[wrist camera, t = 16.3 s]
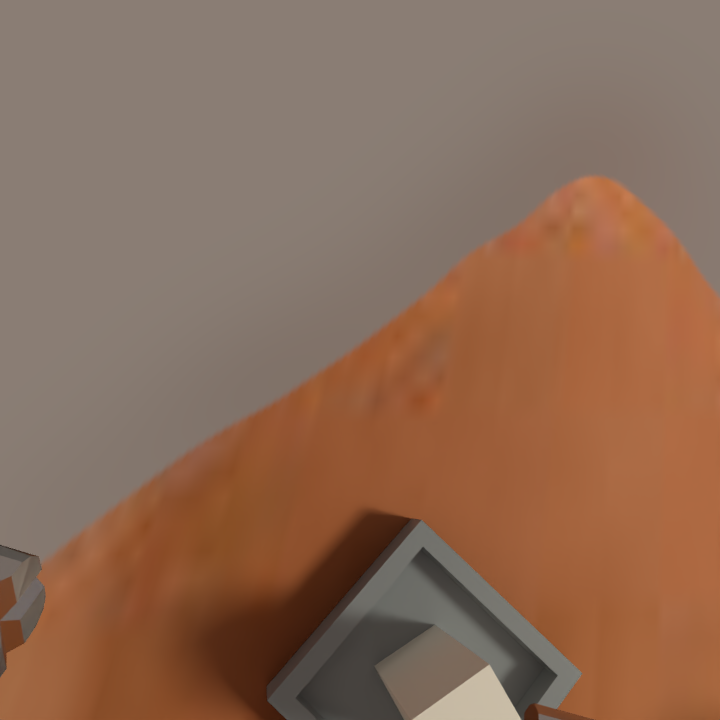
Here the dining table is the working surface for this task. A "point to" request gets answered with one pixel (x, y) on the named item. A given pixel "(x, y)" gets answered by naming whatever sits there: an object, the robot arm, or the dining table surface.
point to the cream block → (443, 681)
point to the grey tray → (407, 621)
